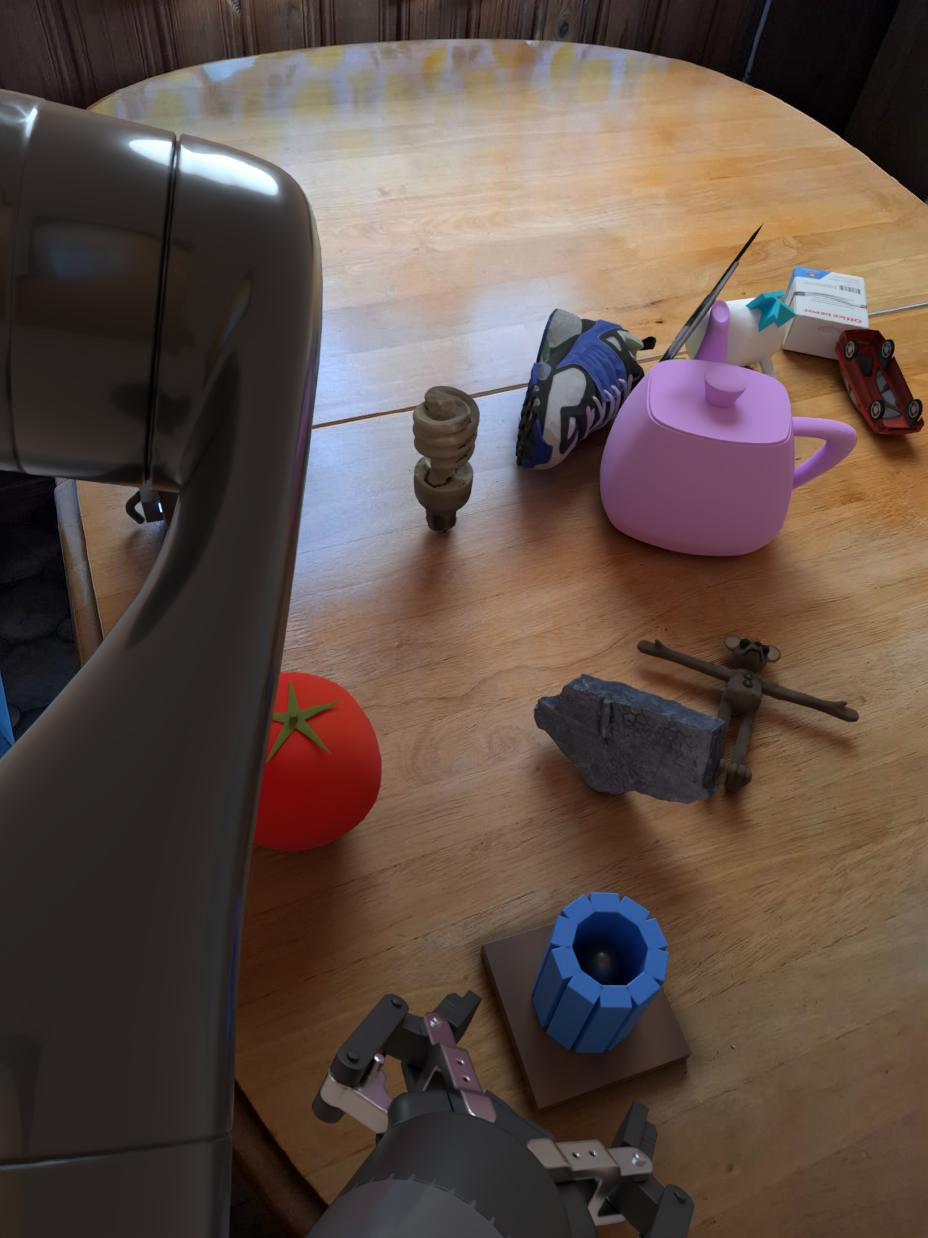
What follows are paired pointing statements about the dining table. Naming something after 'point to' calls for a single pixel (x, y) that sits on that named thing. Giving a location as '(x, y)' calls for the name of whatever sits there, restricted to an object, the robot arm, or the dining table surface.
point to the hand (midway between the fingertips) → (547, 1063)
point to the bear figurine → (745, 694)
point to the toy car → (877, 382)
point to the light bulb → (444, 453)
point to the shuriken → (704, 306)
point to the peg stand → (564, 1071)
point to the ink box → (823, 310)
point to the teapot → (710, 453)
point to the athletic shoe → (575, 386)
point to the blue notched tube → (580, 1000)
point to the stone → (634, 740)
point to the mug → (750, 331)
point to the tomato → (316, 766)
